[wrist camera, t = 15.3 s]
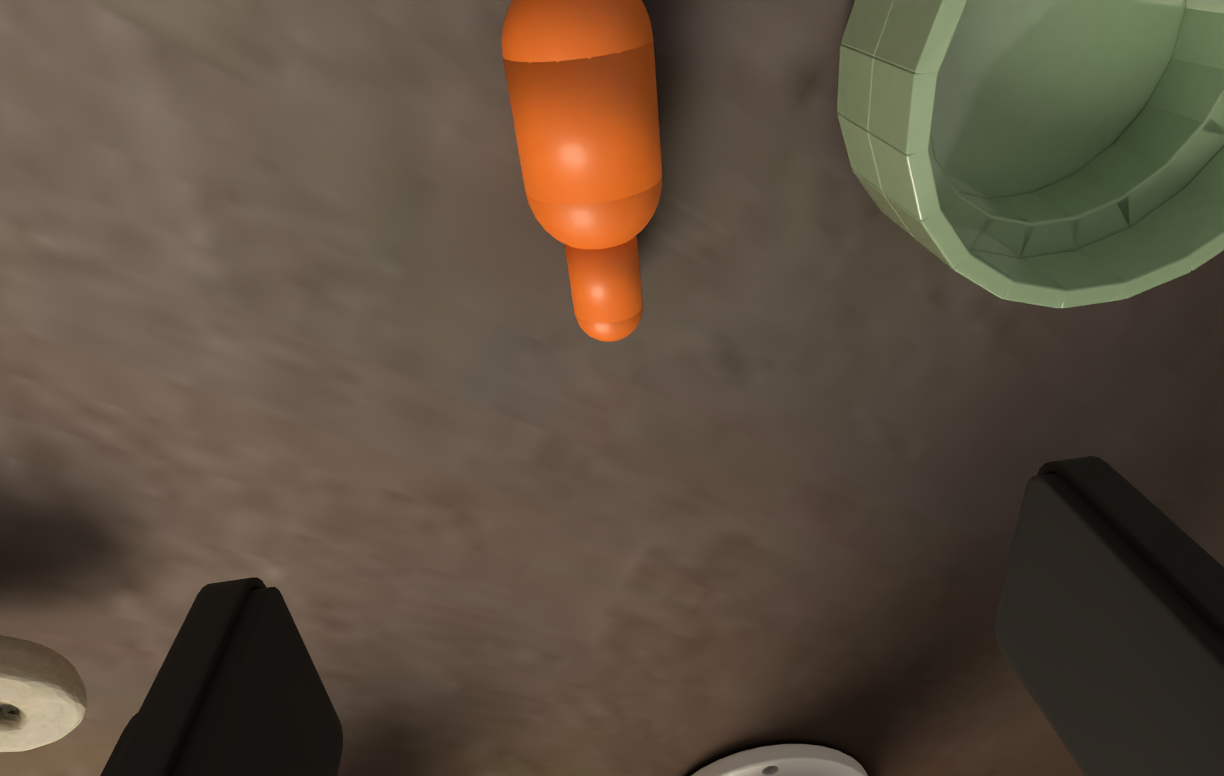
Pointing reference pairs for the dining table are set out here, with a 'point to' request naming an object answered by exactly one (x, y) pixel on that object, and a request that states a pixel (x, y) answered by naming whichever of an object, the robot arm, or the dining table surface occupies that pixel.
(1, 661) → the oil lamp
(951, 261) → the bowl
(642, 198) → the carrot
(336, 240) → the dining table surface
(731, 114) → the dining table surface
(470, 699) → the dining table surface
